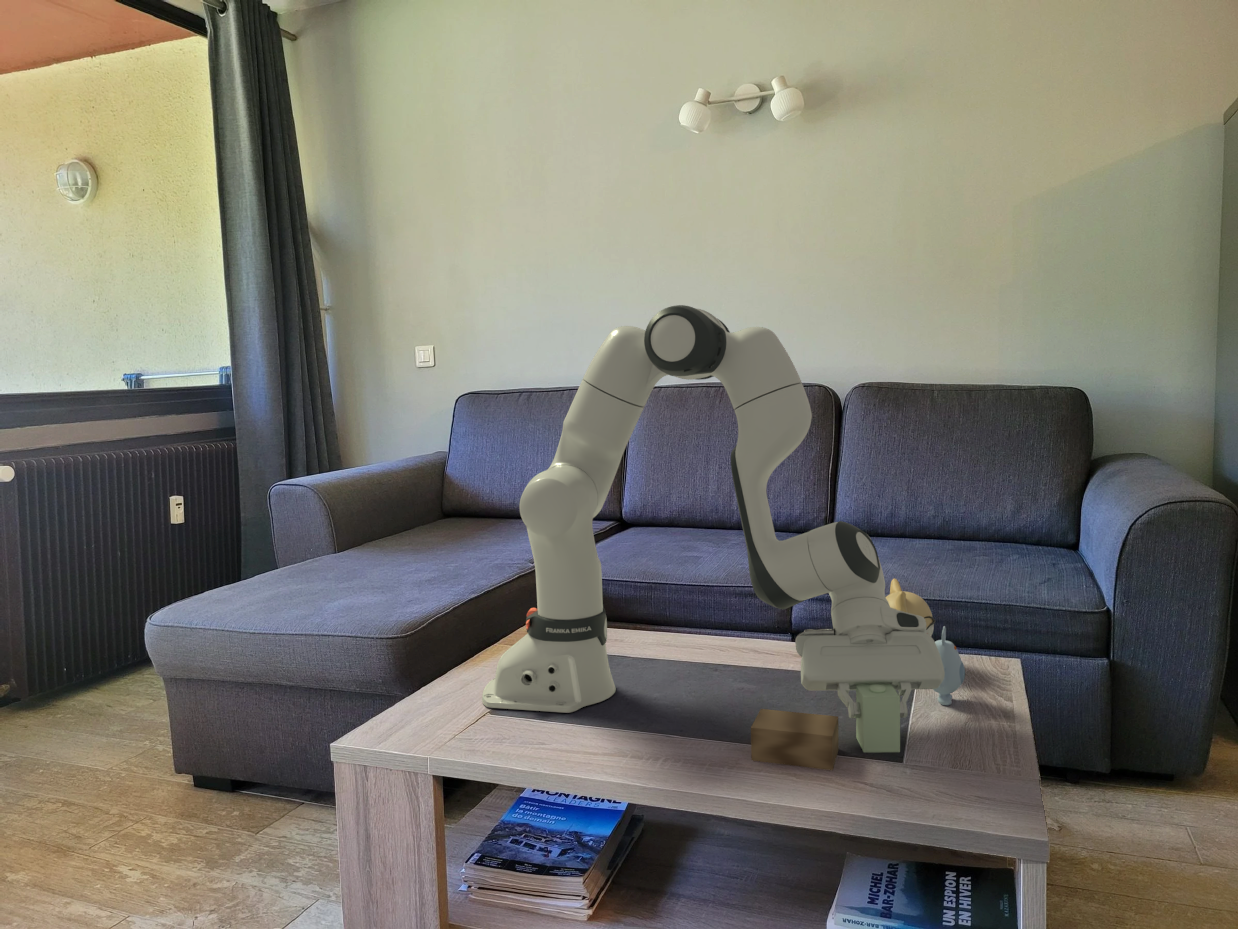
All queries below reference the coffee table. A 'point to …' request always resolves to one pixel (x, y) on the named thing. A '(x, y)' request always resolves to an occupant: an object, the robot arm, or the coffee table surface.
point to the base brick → (795, 739)
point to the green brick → (878, 718)
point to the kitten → (910, 604)
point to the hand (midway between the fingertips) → (878, 716)
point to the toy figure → (949, 669)
